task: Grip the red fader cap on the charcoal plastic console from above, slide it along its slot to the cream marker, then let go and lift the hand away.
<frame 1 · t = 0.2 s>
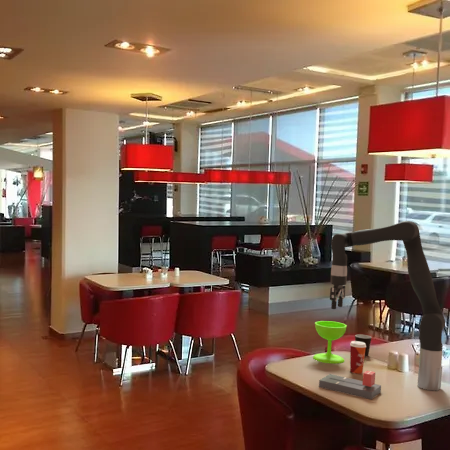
hand: (336, 307, 269), 29 cm above the table, tool pointing down, fingers open, 8 cm apart
paper cup: (356, 372, 264), on the table
console: (349, 389, 237), on the table
coffee mug: (360, 355, 296), on the table
fader: (368, 379, 233), point 6 cm above the table, slide at 0.0 cm
wineglass: (328, 359, 285), on the table
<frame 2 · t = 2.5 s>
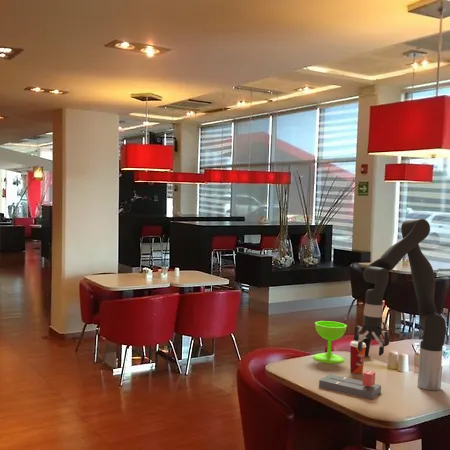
hand: (370, 353, 232), 17 cm above the table, tool pointing down, fingers open, 8 cm apart
nothing on the table moved.
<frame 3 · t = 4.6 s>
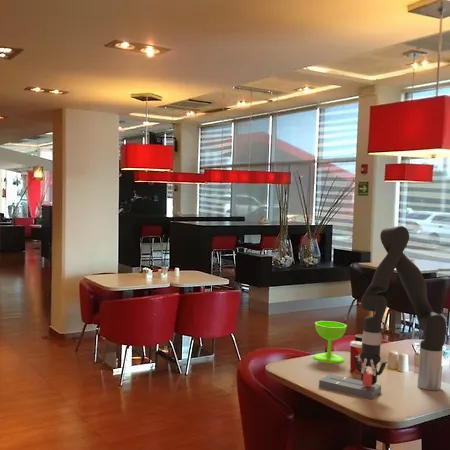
hand: (368, 382, 233), 5 cm above the table, tool pointing down, fingers closed on fader, 3 cm apart
fader: (369, 379, 233), point 6 cm above the table, slide at 0.0 cm, touching gripper
everything else where it was.
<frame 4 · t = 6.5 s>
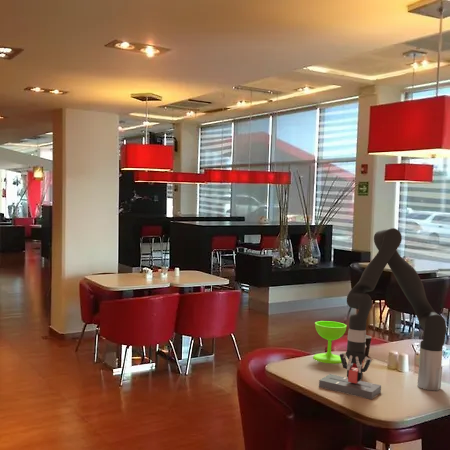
hand: (354, 379, 236), 5 cm above the table, tool pointing down, fingers closed on fader, 3 cm apart
fader: (354, 376, 236), point 6 cm above the table, slide at 6.3 cm, touching gripper
everything else where it was.
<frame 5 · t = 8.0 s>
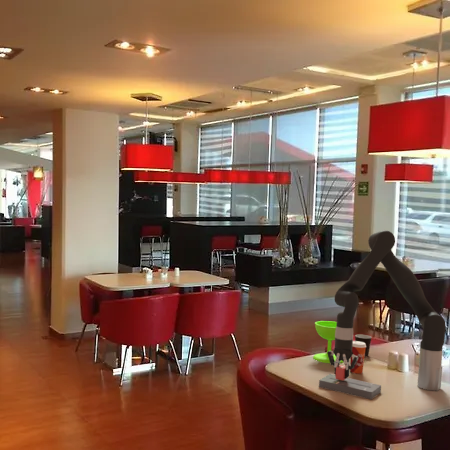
hand: (341, 376, 239), 5 cm above the table, tool pointing down, fingers closed on fader, 3 cm apart
fader: (341, 373, 239), point 6 cm above the table, slide at 11.9 cm, touching gripper
everything else where it was.
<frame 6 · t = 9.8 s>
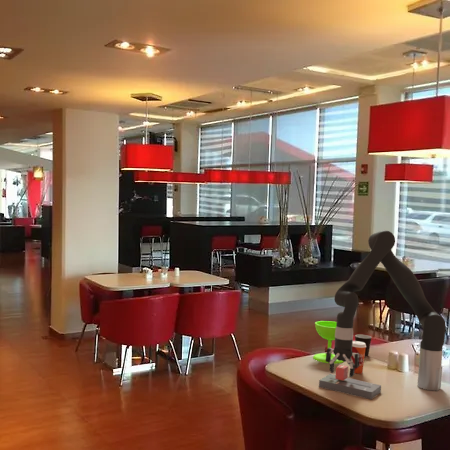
hand: (341, 374, 239), 6 cm above the table, tool pointing down, fingers open, 8 cm apart
fader: (341, 373, 239), point 6 cm above the table, slide at 11.9 cm
everything else where it was.
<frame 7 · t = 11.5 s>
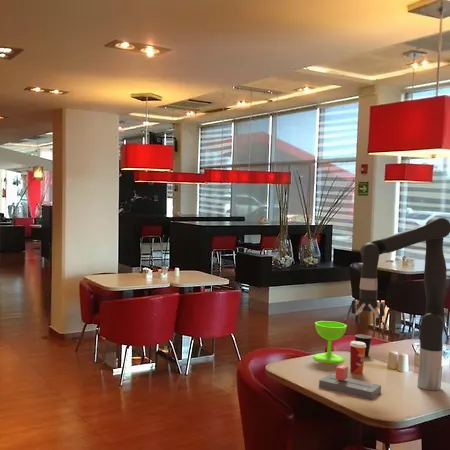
hand: (367, 324, 247), 26 cm above the table, tool pointing down, fingers open, 8 cm apart
nothing on the table moved.
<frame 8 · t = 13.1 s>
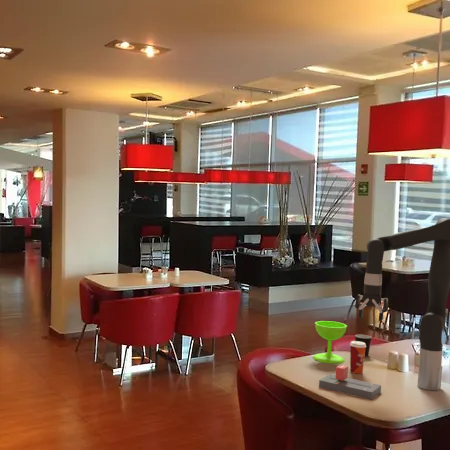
hand: (370, 319, 249), 28 cm above the table, tool pointing down, fingers open, 8 cm apart
nothing on the table moved.
at the end: fader slide at 11.9 cm; the gripper is holding nothing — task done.
